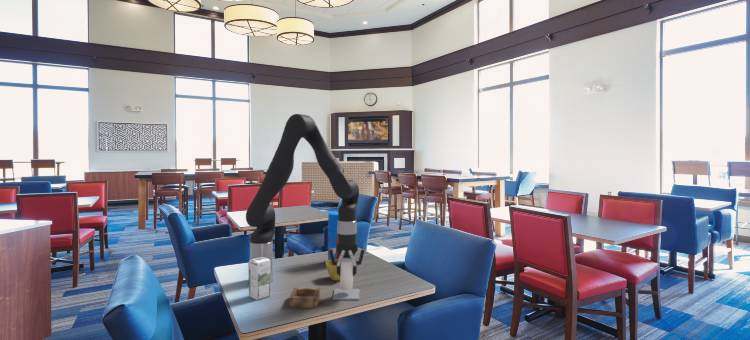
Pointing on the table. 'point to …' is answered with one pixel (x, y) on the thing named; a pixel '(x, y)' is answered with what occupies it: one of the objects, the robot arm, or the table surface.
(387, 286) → the table surface
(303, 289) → the wooden tray
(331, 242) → the thermos
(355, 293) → the coaster
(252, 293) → the syrup box
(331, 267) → the flower pot
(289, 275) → the table surface
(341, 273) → the white lidded jar
